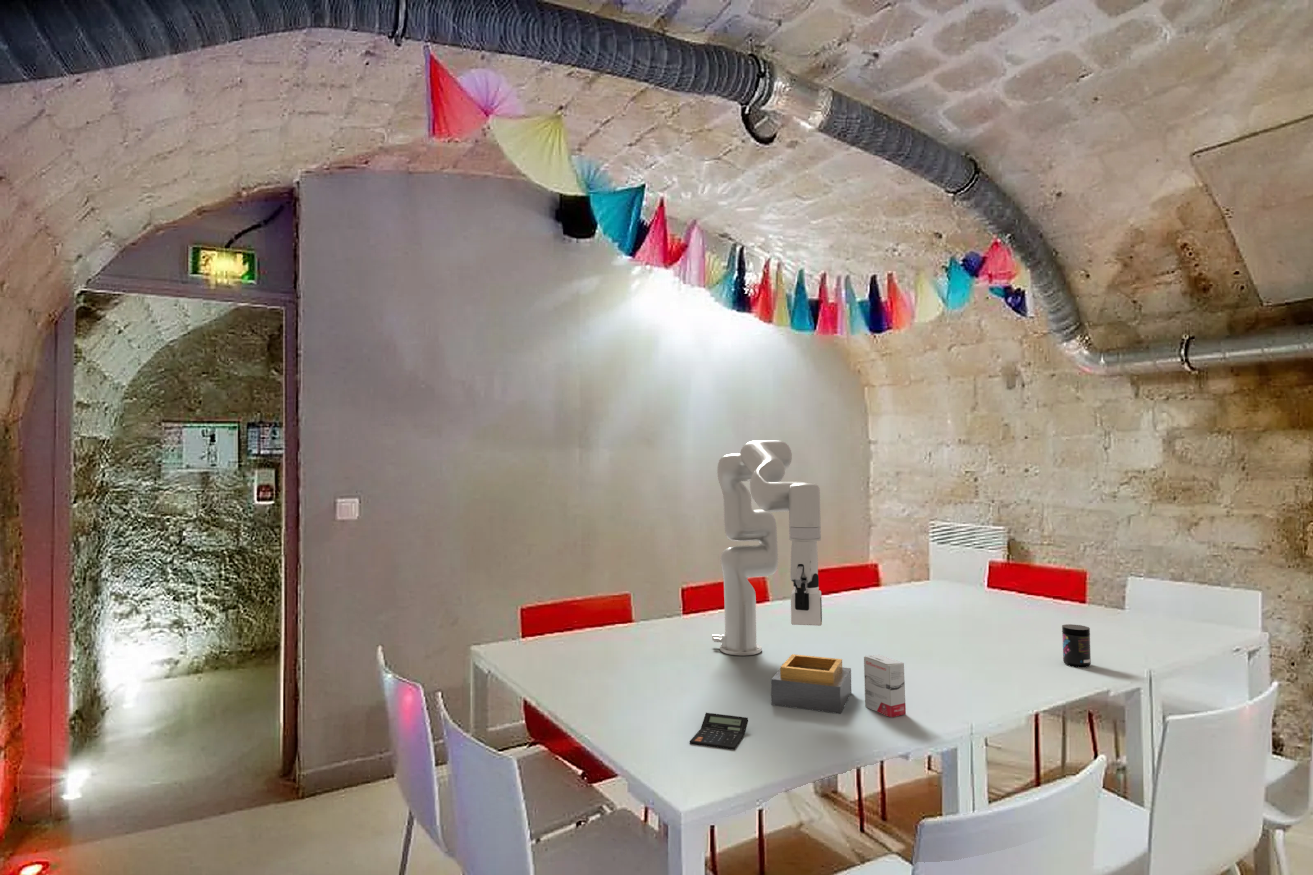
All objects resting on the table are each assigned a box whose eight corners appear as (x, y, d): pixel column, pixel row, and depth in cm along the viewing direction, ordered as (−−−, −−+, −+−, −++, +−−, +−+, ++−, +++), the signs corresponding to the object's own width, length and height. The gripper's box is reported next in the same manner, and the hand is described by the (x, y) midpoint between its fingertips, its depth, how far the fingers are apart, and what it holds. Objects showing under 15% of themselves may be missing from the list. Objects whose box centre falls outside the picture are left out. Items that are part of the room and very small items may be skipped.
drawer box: (771, 704, 168) (770, 668, 169) (789, 682, 185) (789, 649, 185) (840, 713, 162) (839, 675, 162) (852, 689, 179) (852, 655, 179)
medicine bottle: (821, 626, 169) (820, 575, 169) (791, 624, 171) (790, 574, 171) (821, 619, 176) (820, 570, 176) (792, 618, 178) (791, 569, 178)
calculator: (689, 745, 145) (689, 730, 146) (706, 725, 156) (706, 712, 156) (734, 751, 142) (734, 736, 142) (748, 731, 153) (748, 717, 153)
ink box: (907, 715, 161) (905, 661, 161) (890, 718, 159) (888, 664, 159) (880, 703, 169) (879, 652, 169) (863, 706, 167) (862, 655, 167)
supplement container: (1072, 660, 203) (1071, 623, 204) (1096, 666, 197) (1095, 628, 198) (1057, 663, 200) (1056, 626, 200) (1081, 669, 194) (1080, 630, 194)
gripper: (798, 530, 184) (799, 599, 183) (780, 537, 168) (781, 612, 167) (827, 531, 181) (828, 601, 180) (812, 538, 165) (814, 614, 164)
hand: (806, 606), depth 174 cm, fingers closed on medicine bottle, 8 cm apart
